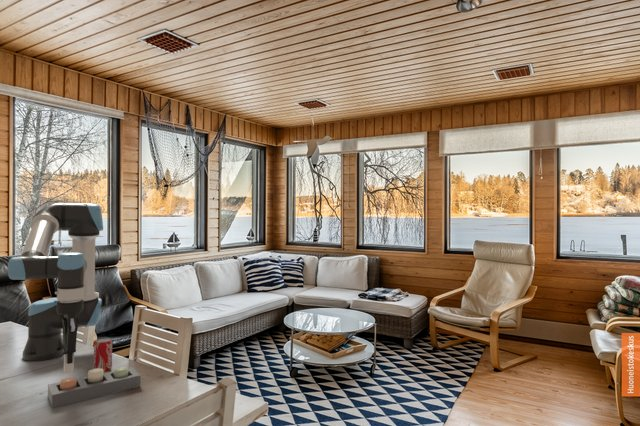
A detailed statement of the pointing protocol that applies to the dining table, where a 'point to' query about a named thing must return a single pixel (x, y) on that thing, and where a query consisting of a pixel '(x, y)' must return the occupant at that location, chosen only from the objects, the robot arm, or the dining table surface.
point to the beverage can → (103, 354)
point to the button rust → (68, 383)
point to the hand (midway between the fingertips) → (68, 372)
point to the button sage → (120, 372)
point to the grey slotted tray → (92, 388)
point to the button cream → (95, 375)
